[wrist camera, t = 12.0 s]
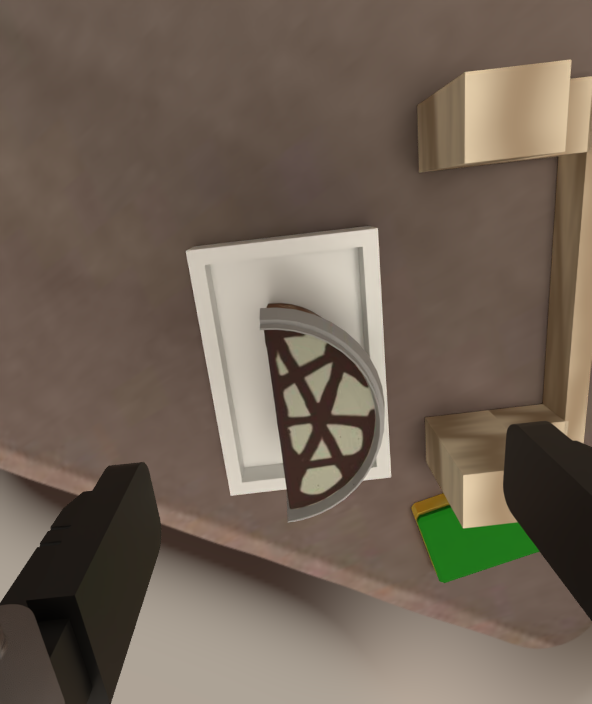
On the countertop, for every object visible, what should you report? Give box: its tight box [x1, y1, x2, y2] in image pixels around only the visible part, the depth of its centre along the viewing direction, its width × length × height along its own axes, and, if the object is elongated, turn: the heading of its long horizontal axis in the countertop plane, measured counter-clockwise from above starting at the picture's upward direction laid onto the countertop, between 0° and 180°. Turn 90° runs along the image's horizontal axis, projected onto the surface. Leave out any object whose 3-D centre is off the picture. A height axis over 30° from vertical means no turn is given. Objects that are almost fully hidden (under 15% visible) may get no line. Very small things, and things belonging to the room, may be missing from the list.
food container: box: [260, 303, 385, 523], centre depth 29 cm, size 12×6×10 cm, turn 7°
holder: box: [417, 60, 592, 528], centre depth 29 cm, size 11×26×8 cm, turn 6°
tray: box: [186, 226, 391, 496], centre depth 33 cm, size 12×18×3 cm, turn 6°
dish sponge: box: [411, 493, 539, 583], centre depth 38 cm, size 7×14×2 cm, turn 112°
